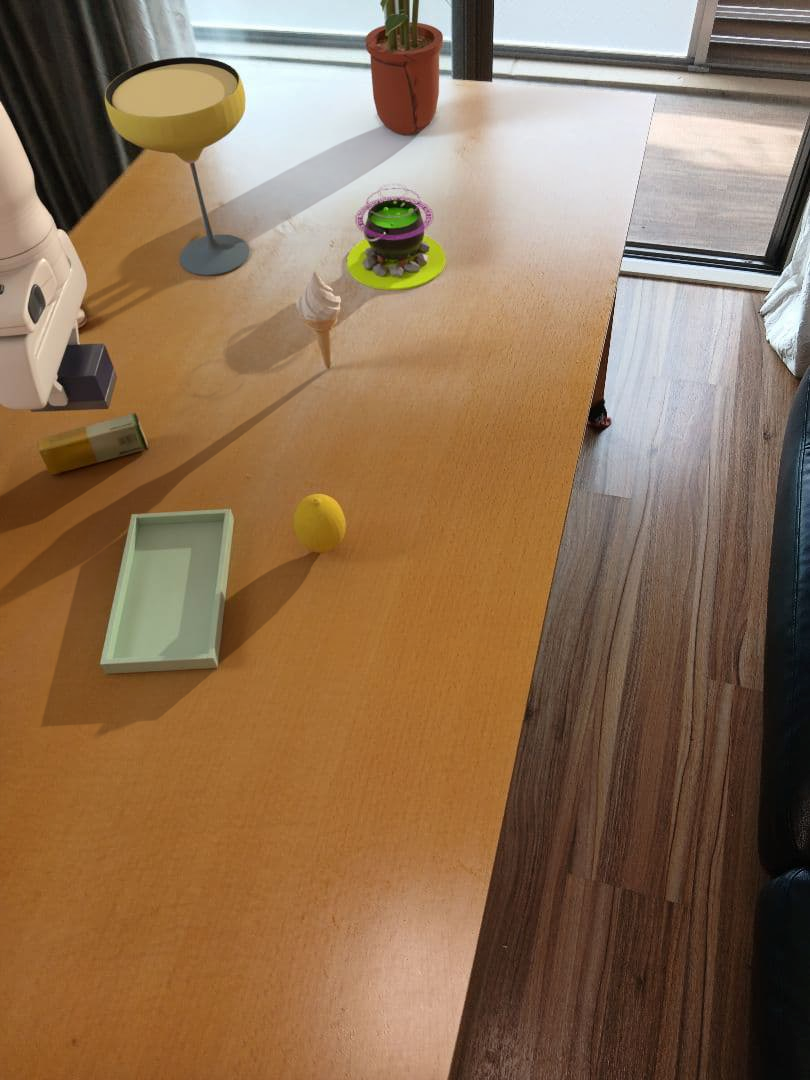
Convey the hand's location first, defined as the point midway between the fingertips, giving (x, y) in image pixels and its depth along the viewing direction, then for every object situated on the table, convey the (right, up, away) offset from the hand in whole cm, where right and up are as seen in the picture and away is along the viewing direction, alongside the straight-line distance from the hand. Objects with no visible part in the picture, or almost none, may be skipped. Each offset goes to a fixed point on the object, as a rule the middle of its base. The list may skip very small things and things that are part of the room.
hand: (68, 380), depth 84 cm
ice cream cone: (+24, +6, +25) cm, 36 cm away
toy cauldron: (+33, +26, +40) cm, 58 cm away
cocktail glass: (+5, +28, +42) cm, 51 cm away
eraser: (0, -1, +1) cm, 2 cm away
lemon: (+26, -17, +7) cm, 32 cm away
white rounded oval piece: (-13, +14, +33) cm, 38 cm away
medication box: (-3, -6, +17) cm, 18 cm away
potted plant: (+37, +58, +64) cm, 94 cm away
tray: (+10, -22, +4) cm, 24 cm away
